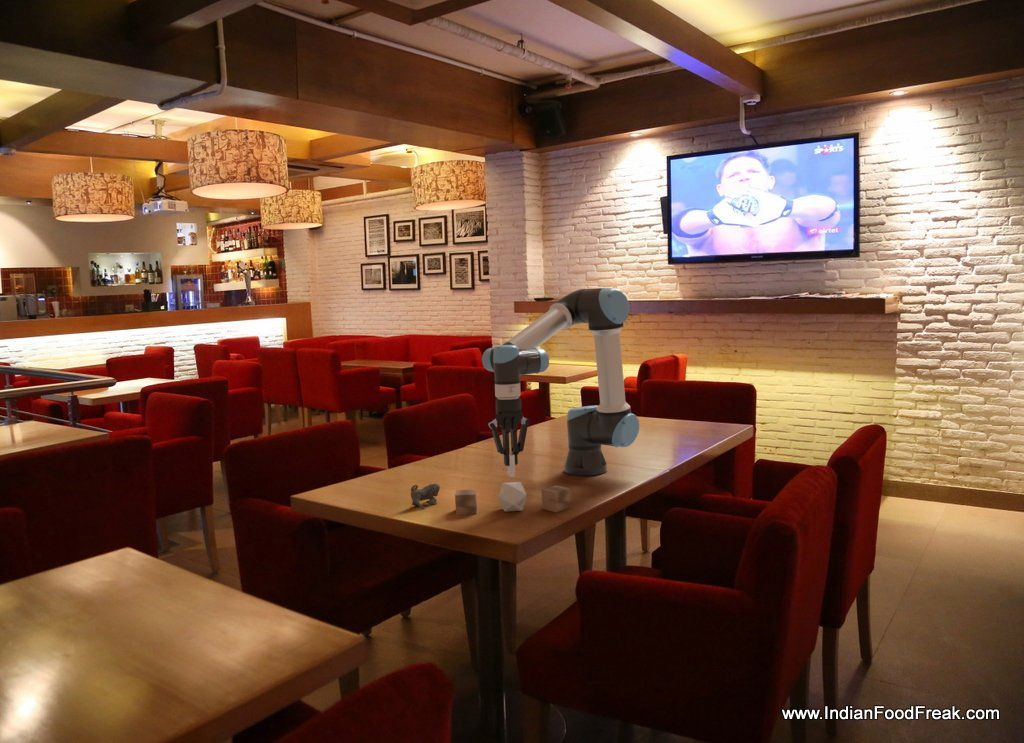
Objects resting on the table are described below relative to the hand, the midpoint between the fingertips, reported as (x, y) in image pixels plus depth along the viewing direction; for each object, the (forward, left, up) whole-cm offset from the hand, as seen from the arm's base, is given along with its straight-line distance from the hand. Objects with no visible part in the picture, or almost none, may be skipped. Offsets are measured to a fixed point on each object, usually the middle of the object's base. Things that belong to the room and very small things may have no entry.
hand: (511, 475), depth 234 cm
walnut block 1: (+13, -5, -10) cm, 17 cm away
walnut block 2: (-12, +5, -10) cm, 17 cm away
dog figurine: (+22, -18, -11) cm, 30 cm away
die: (0, 0, -11) cm, 11 cm away
